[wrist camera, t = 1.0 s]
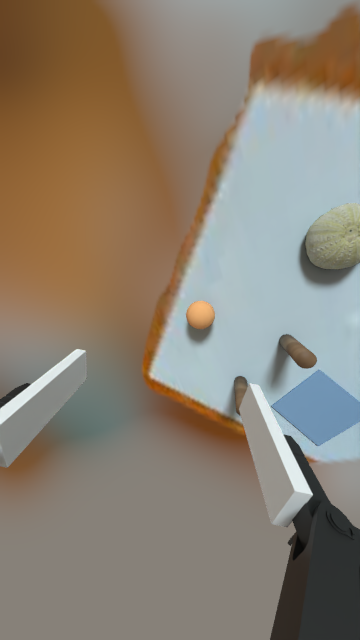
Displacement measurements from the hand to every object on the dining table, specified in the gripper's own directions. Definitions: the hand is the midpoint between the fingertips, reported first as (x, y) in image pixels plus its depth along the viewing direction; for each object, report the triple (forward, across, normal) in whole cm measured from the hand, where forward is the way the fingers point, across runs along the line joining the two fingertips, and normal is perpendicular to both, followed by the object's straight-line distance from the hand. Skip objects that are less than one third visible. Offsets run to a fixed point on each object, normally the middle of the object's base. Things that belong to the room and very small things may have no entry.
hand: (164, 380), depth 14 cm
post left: (+20, -15, +14) cm, 29 cm away
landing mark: (+17, -30, +14) cm, 38 cm away
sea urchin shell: (+23, -23, -16) cm, 36 cm away
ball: (+22, -4, +1) cm, 22 cm away
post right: (+20, -21, +2) cm, 30 cm away
